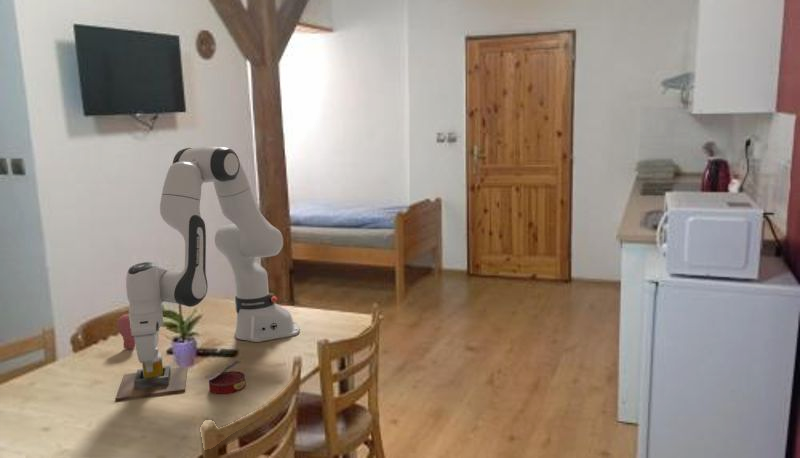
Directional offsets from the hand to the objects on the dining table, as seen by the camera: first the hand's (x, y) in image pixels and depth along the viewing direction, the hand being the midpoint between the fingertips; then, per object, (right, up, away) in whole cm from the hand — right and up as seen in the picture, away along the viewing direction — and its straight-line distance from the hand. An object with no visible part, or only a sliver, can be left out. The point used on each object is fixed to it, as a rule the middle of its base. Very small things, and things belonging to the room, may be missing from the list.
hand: (151, 366), depth 187 cm
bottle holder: (0, -5, +1) cm, 5 cm away
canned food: (+23, -6, -3) cm, 24 cm away
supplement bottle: (0, -5, +1) cm, 5 cm away
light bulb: (-19, -1, +31) cm, 37 cm away
